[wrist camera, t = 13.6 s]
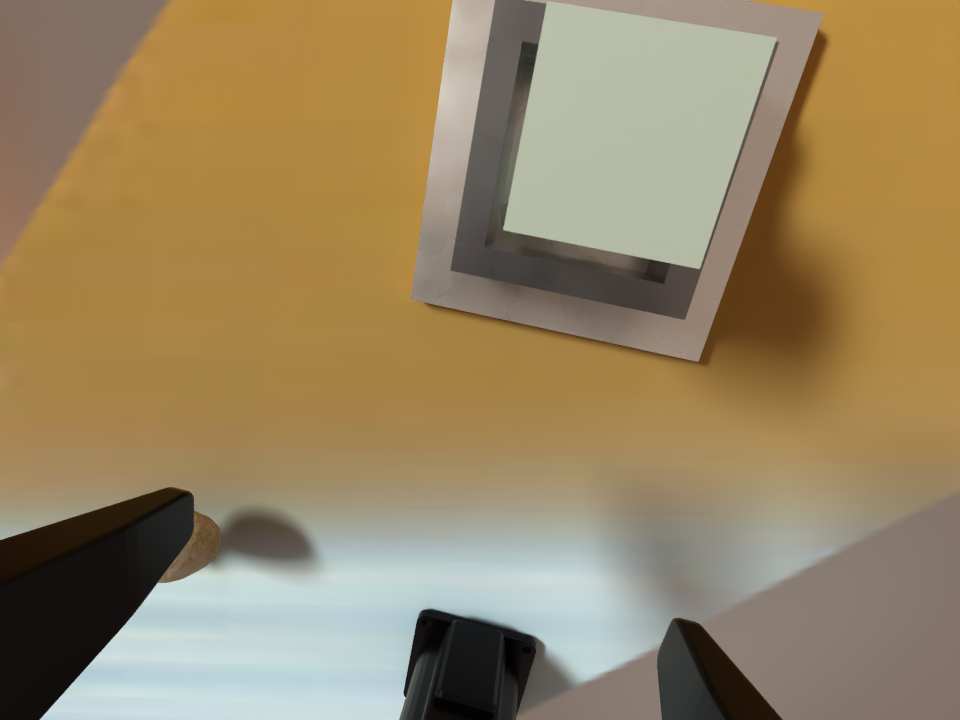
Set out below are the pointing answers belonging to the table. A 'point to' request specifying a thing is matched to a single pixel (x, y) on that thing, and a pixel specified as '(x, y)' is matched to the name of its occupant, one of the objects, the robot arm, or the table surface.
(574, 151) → the rail post
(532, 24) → the bracket
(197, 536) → the figurine
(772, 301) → the table surface
